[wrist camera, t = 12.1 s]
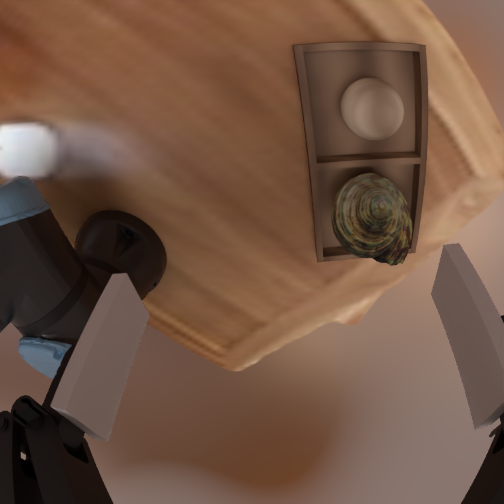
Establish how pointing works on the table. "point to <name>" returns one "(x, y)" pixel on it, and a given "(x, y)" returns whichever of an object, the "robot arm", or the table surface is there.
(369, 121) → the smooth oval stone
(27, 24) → the table surface
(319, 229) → the holder
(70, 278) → the robot arm
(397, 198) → the seashell
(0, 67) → the table surface
